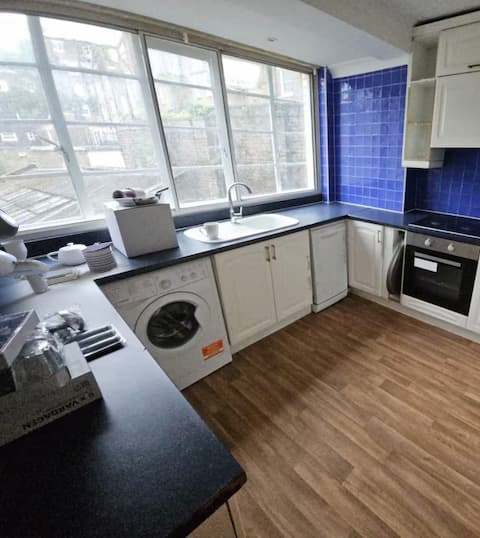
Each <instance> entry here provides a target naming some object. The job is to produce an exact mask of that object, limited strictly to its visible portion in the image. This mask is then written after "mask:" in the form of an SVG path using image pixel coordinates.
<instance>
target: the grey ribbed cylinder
mask: <svg viewBox="0 0 480 538" xmlns="http://www.w3.org/2000/svg"><path fill="white" fill-rule="evenodd" d="M86 247H87V248H85V249H83V250H81V251H82V253H83V255H84V257H85V260H86V262H85V263H86V264H87V267H88V269H89V271H90V273H94V274H98V273H105V272H108V271H112V270H115V269H116V268H118V266H119V264H118V261H117V259H116V256H115V253H114V251H113V248H112V246H111V243H109V242H103V243H98V244H97V245H94V244H93V245H90V246H86Z"/></svg>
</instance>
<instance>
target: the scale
mask: <svg viewBox="0 0 480 538" xmlns="http://www.w3.org/2000/svg"><path fill="white" fill-rule="evenodd" d="M78 274H79V271H78V268H77V267H76V266H75V267H74V266H72V267H67V268H61V269H57V270H53V271H48V273H47V276H44V279H45V281H46V283H47V285H48V286H49V285H54V284H60V283H64V282H68V281H72V280H76V279H78Z"/></svg>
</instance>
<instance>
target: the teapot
mask: <svg viewBox="0 0 480 538" xmlns="http://www.w3.org/2000/svg"><path fill="white" fill-rule="evenodd" d="M97 244H101V242H95V243H94V244H93V245H97ZM66 245H67V246H64V247H60V248H59V249H58V250H57V251H53V252H49V253H47V254H46V258H47V259H49V260H50V261H53V262H57V263H60V264H62V265H66V266H75V265H80V264H84V263H87V262H86V260H85V257H84V255H83V253H82V251H81V250H83V249H85V248H87V247H88V246H86V245H85V244H81V243H80V244H79V243H78V244H74V242H69V243H66ZM55 254H57V259H55V258H53V257H52V255H55Z"/></svg>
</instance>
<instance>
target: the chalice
mask: <svg viewBox="0 0 480 538" xmlns="http://www.w3.org/2000/svg"><path fill="white" fill-rule="evenodd" d="M0 245H1V246H3V247H4V248H3V249H4V250H5V252H6V253H8V254H10V255H13V256H14V257H15V258H16V259H17V260H27V256H28V249H27V247H26V245H25V243H24V239H22V238H21V239H12V240H8V241H4V242H0ZM22 279H23V280H27V278H26V276H25V275H23V278H22Z"/></svg>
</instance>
